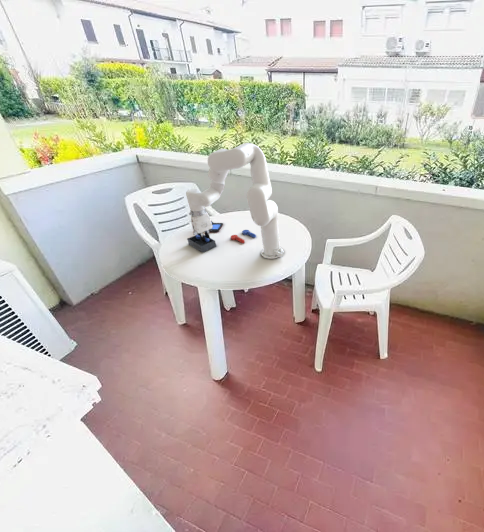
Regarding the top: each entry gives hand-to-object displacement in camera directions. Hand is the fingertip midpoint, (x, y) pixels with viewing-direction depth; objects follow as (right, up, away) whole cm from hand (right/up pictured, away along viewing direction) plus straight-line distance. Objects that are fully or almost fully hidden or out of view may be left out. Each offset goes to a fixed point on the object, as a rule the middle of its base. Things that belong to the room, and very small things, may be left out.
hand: (205, 240), depth 168 cm
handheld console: (-4, +10, +21) cm, 24 cm away
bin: (-3, -3, +3) cm, 5 cm away
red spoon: (+17, +1, +8) cm, 19 cm away
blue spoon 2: (+23, +5, +14) cm, 27 cm away
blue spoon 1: (-2, +1, +2) cm, 3 cm away
